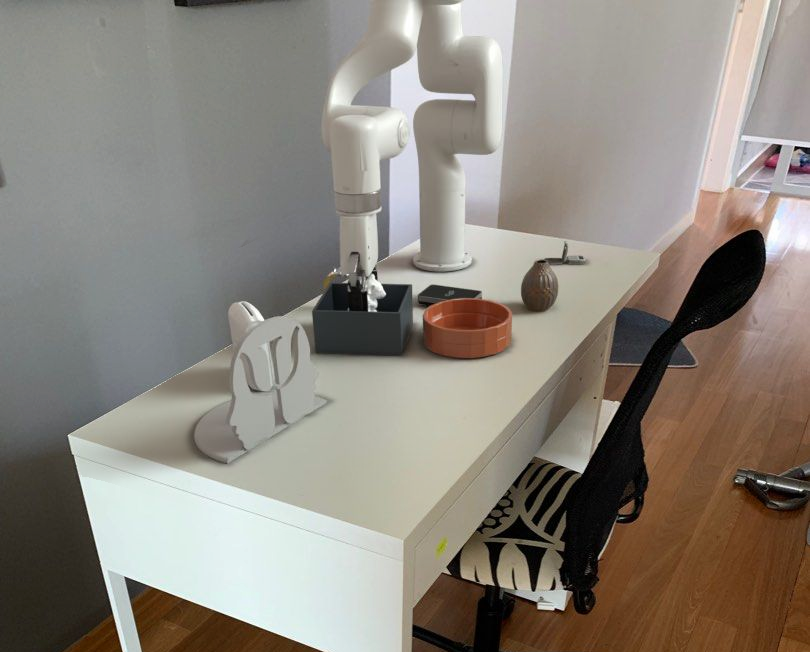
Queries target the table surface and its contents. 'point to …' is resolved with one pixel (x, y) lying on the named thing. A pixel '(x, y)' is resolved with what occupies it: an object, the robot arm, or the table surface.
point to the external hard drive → (445, 294)
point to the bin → (363, 322)
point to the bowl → (467, 327)
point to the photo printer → (240, 323)
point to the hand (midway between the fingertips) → (364, 303)
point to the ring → (332, 276)
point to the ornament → (264, 412)
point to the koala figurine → (373, 292)
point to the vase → (539, 287)
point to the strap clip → (570, 259)
